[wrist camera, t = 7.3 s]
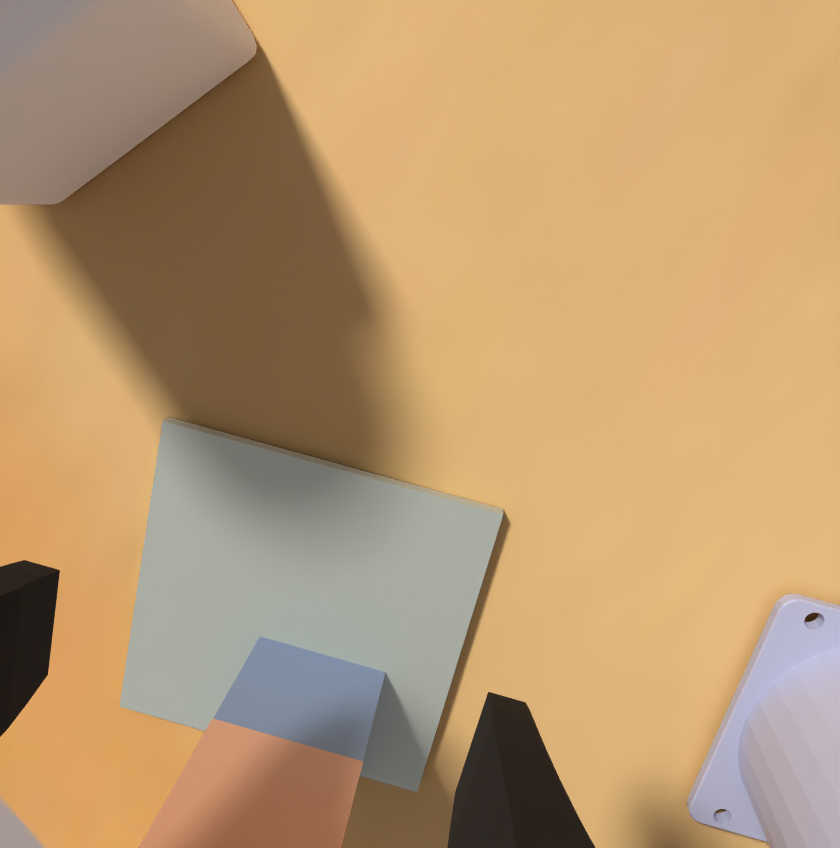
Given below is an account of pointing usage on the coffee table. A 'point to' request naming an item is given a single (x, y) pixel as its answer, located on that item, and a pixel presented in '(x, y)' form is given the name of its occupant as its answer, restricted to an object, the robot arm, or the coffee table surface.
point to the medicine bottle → (101, 82)
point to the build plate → (302, 583)
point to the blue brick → (304, 698)
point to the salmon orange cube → (256, 794)
